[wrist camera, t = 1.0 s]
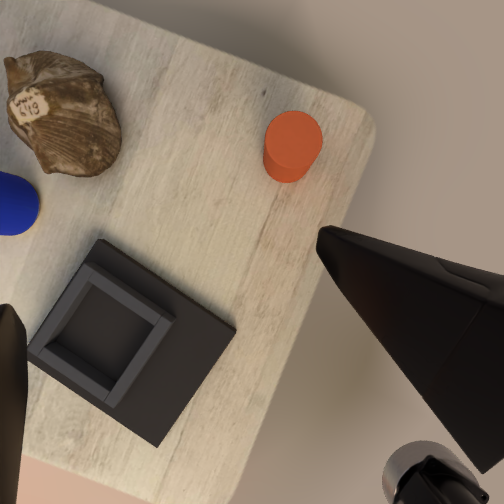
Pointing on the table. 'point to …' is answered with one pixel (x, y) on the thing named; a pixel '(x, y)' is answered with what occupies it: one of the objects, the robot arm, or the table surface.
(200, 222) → the table surface
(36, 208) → the beverage can
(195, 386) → the base pad
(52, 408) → the table surface
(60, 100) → the fossilized seashell
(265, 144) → the orange cylinder
